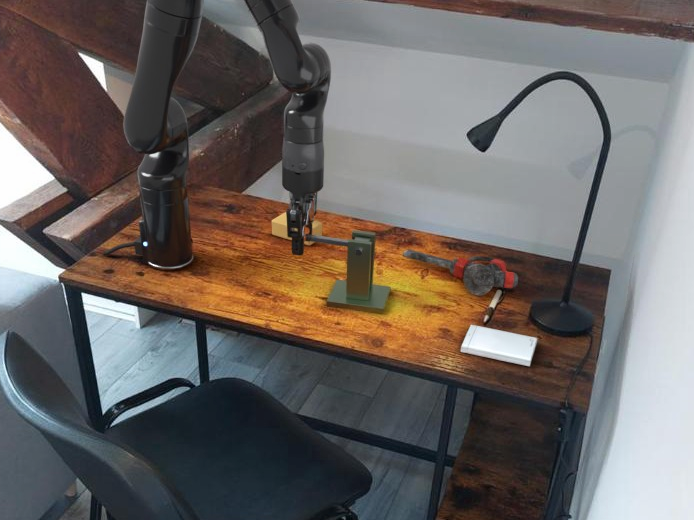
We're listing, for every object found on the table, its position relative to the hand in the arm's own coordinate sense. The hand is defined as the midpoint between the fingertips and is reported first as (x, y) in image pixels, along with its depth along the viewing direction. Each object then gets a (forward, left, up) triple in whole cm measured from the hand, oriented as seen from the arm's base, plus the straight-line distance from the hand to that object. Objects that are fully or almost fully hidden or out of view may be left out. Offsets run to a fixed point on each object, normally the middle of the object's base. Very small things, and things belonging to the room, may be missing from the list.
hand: (302, 247), depth 154 cm
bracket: (+12, 0, -10) cm, 15 cm away
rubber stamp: (-7, +24, -10) cm, 27 cm away
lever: (+6, 0, +1) cm, 6 cm away
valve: (+31, +17, -10) cm, 36 cm away
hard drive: (+40, -11, -10) cm, 42 cm away
